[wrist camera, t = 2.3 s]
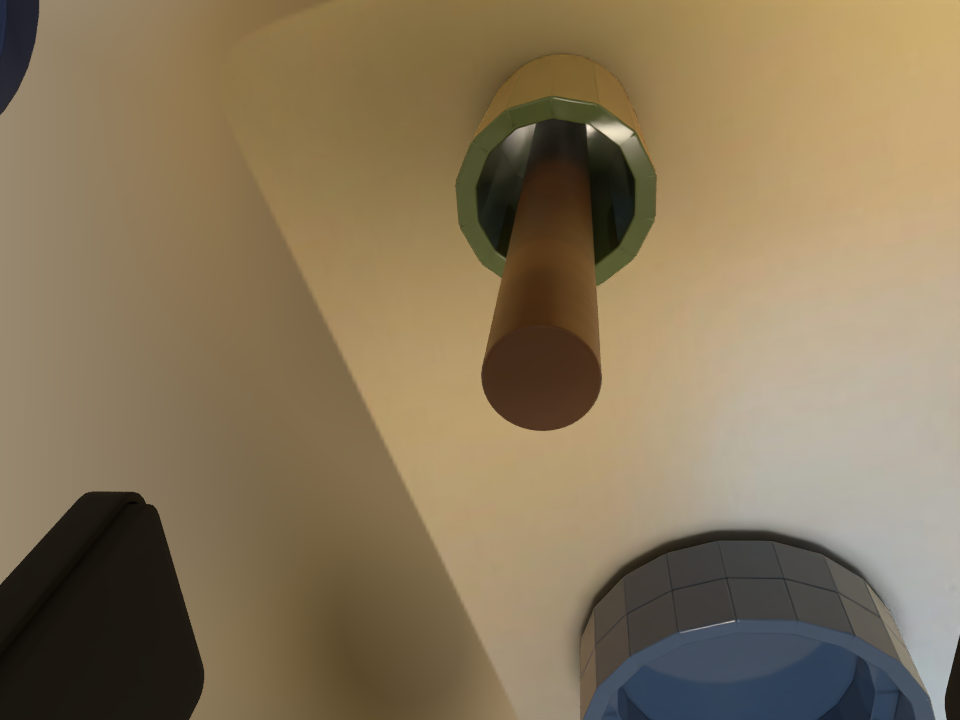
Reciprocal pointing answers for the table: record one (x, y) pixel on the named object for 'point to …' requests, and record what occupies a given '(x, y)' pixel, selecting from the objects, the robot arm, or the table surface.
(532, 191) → the cooking stick
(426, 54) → the table surface
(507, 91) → the utensil crock
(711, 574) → the mixing bowl
